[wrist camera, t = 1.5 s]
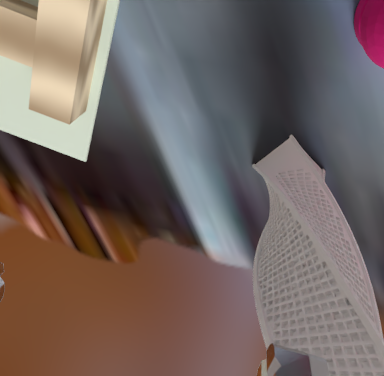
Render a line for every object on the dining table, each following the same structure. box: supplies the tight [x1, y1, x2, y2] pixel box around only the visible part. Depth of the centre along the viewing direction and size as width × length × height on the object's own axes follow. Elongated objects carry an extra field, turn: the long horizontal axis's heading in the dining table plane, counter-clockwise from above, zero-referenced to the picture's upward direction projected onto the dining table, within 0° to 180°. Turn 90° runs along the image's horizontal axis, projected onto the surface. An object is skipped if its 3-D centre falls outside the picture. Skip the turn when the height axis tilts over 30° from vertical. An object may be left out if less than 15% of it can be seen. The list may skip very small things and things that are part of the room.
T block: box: [0, 0, 107, 125], centre depth 31 cm, size 12×12×4 cm
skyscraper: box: [252, 134, 384, 376], centre depth 25 cm, size 8×7×28 cm
